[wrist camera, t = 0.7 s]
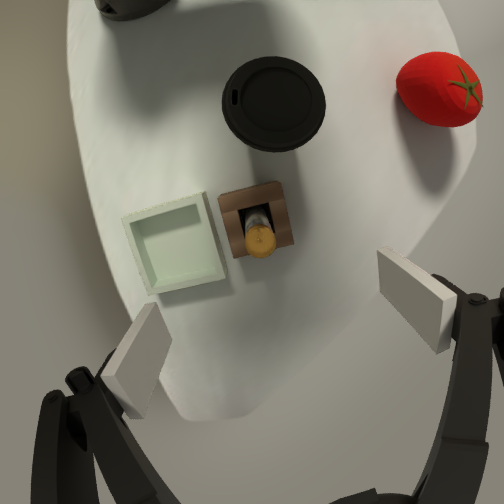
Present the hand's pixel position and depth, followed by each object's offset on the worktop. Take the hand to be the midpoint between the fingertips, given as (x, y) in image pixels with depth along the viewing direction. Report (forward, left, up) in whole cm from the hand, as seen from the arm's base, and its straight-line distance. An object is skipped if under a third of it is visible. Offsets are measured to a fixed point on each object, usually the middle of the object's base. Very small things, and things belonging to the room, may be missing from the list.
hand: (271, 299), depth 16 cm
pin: (0, 0, -26) cm, 26 cm away
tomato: (-14, +30, -26) cm, 42 cm away
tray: (+1, -12, -26) cm, 28 cm away
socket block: (0, 0, -26) cm, 26 cm away
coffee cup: (-13, +4, -26) cm, 29 cm away
